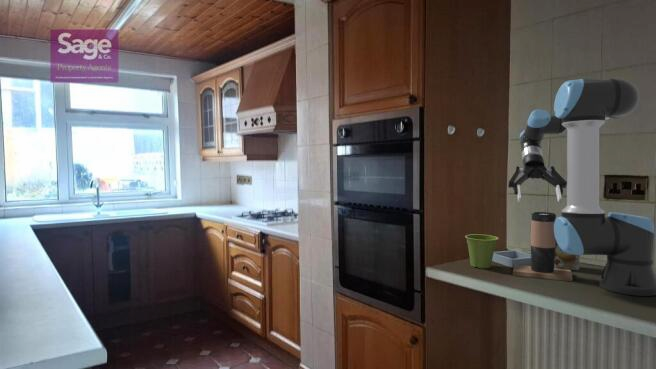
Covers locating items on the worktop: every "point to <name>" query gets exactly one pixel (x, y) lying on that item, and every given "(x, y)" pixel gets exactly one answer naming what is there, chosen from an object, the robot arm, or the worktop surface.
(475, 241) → the plant pot
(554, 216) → the travel mug
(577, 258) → the coffee box
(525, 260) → the holder frame
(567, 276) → the walnut board
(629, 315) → the worktop surface
